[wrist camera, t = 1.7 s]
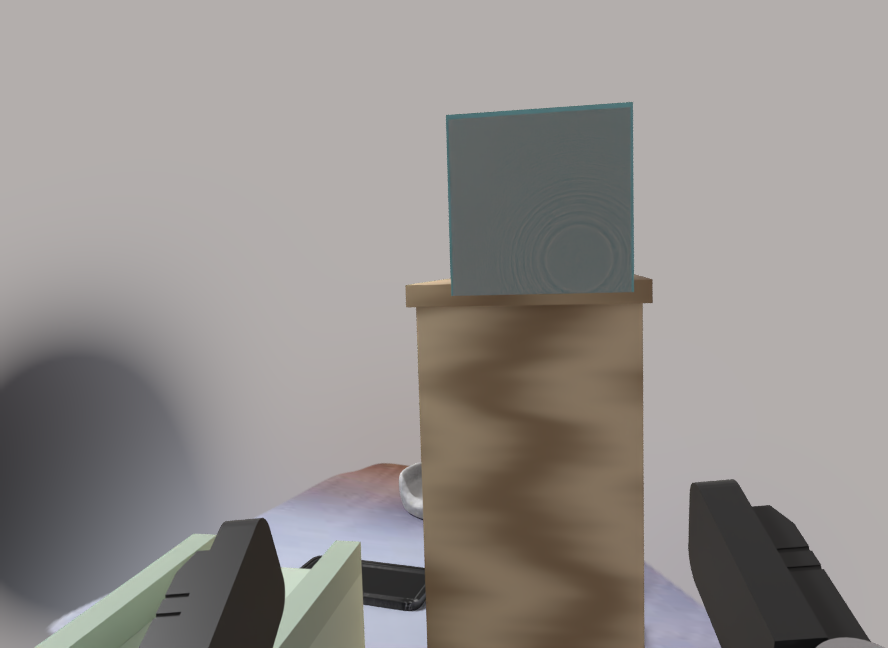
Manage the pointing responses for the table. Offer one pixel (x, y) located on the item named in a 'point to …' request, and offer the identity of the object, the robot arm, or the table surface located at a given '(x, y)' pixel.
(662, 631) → the table surface
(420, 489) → the dish
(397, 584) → the phone
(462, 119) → the white teal square bar
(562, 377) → the oak stand
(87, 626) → the sage green upright box
